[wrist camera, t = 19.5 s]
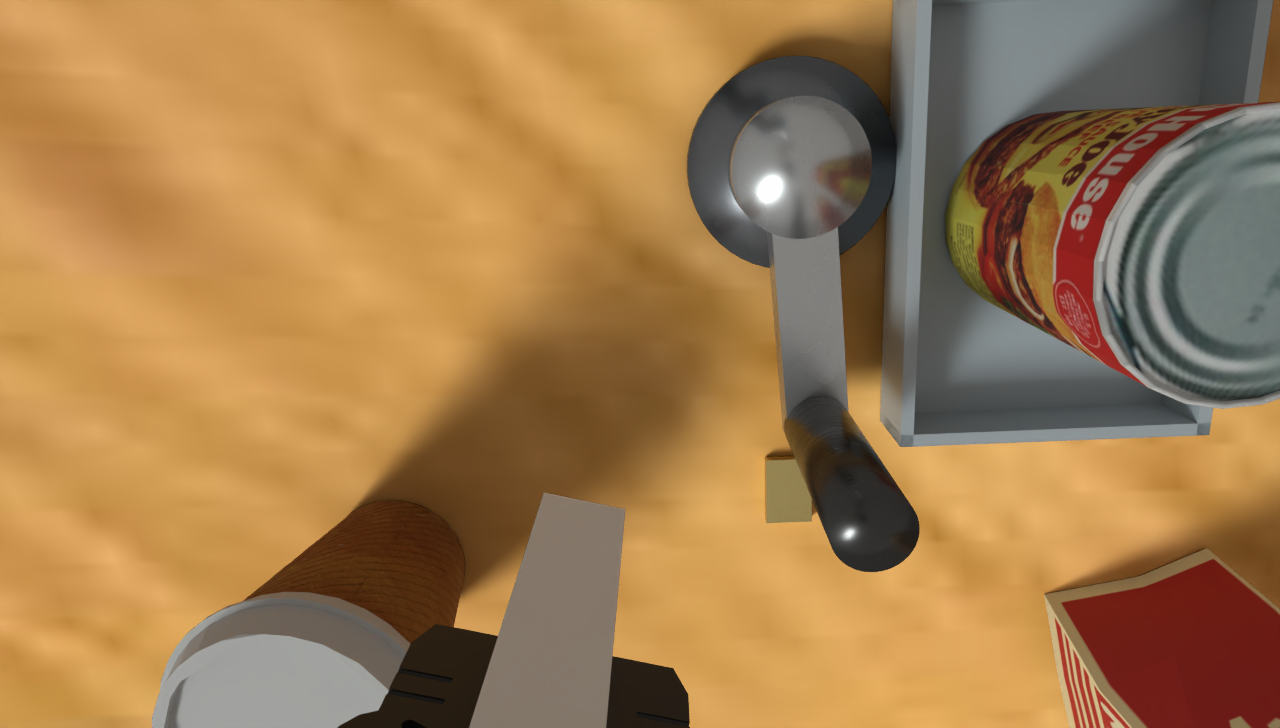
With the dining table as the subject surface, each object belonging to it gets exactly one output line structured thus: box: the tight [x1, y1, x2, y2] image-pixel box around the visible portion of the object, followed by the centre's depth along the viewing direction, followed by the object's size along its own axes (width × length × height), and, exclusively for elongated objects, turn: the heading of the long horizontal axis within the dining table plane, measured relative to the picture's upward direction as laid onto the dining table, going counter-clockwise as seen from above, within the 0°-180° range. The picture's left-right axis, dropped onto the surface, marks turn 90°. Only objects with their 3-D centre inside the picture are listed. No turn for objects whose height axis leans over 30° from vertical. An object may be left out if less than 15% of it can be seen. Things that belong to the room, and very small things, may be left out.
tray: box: [880, 0, 1273, 447], centre depth 32 cm, size 17×12×3 cm
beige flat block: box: [765, 456, 812, 523], centre depth 36 cm, size 3×2×1 cm, turn 3°
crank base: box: [687, 56, 897, 268], centre depth 32 cm, size 8×8×1 cm
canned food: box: [944, 102, 1280, 409], centre depth 27 cm, size 8×8×12 cm
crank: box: [727, 96, 919, 572], centre depth 27 cm, size 14×5×10 cm, turn 7°
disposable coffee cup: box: [152, 500, 465, 728], centre depth 32 cm, size 10×10×12 cm
